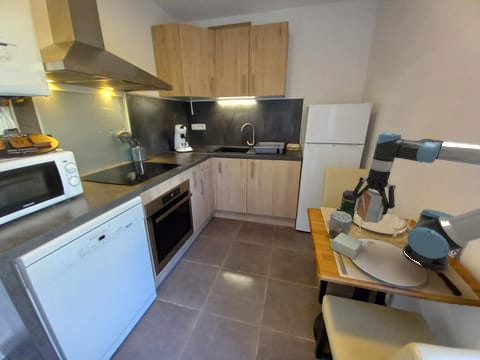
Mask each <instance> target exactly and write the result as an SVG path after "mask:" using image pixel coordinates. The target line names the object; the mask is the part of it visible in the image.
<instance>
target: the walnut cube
mask: <svg viewBox="0 0 480 360" xmlns="http://www.w3.org/2000/svg"><path fill="white" fill-rule="evenodd" d="M340 233H342V228H339V227H336V226H333V225H332V227H330V228H329V229H328V236H327V237H328V238H330V239H332V240H333V239H334V238H336V237H337V236H338V235H339V234H340Z"/></svg>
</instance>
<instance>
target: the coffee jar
mask: <svg viewBox="0 0 480 360" xmlns="http://www.w3.org/2000/svg"><path fill="white" fill-rule="evenodd" d="M353 191H354V190H347V189H346V190H345V191H343V192H342V197H341V202H340V206H339V211H342V212H346V213H348V214H349V215H351V218H352V223H353V222H354V218H355V214H356V211H354V209H355V205H356V204H355V203H354V201H355V196H354V195H352V193H353Z"/></svg>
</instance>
